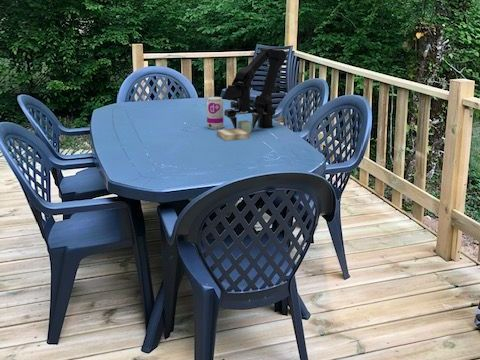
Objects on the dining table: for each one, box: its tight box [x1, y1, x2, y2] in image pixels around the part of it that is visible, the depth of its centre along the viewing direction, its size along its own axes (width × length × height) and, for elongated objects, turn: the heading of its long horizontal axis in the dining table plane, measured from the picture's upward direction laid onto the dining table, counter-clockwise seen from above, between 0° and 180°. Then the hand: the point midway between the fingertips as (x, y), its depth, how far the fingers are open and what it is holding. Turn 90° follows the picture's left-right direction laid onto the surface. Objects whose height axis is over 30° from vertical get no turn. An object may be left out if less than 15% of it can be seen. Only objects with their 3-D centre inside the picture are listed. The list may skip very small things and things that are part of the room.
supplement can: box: [206, 96, 224, 130], centre depth 285 cm, size 8×8×15 cm
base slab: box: [216, 127, 251, 142], centre depth 268 cm, size 12×12×3 cm
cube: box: [237, 119, 252, 133], centre depth 278 cm, size 5×5×5 cm
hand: (244, 129), depth 278 cm, fingers open, 9 cm apart
